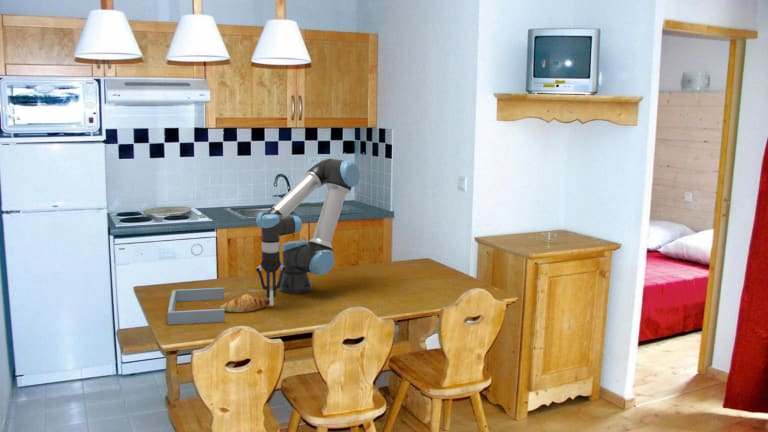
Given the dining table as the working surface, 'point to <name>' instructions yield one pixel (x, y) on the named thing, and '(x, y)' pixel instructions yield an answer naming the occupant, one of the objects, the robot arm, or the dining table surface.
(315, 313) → the dining table surface
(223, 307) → the croissant
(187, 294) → the crate
